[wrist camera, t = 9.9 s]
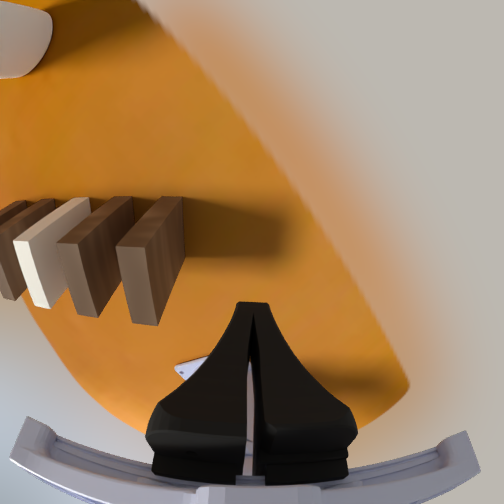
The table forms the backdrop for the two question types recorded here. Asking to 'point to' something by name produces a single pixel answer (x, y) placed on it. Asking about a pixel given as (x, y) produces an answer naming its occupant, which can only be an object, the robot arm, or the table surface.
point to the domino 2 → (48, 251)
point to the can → (22, 38)
